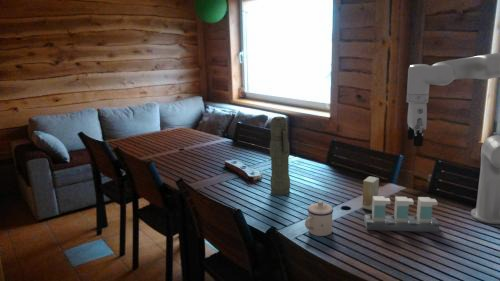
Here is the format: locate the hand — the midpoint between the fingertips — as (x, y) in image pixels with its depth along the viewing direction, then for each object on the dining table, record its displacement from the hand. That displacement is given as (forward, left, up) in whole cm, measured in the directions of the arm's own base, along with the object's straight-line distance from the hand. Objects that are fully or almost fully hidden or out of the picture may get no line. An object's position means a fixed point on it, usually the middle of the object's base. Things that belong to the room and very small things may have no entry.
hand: (414, 142), depth 154 cm
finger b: (+6, +14, -26) cm, 30 cm away
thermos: (+53, -17, -28) cm, 63 cm away
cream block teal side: (-2, +14, -26) cm, 30 cm away
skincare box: (+15, -3, -28) cm, 32 cm away
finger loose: (+14, +14, -26) cm, 33 cm away
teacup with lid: (+37, +21, -28) cm, 51 cm away
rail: (+6, +14, -28) cm, 32 cm away
